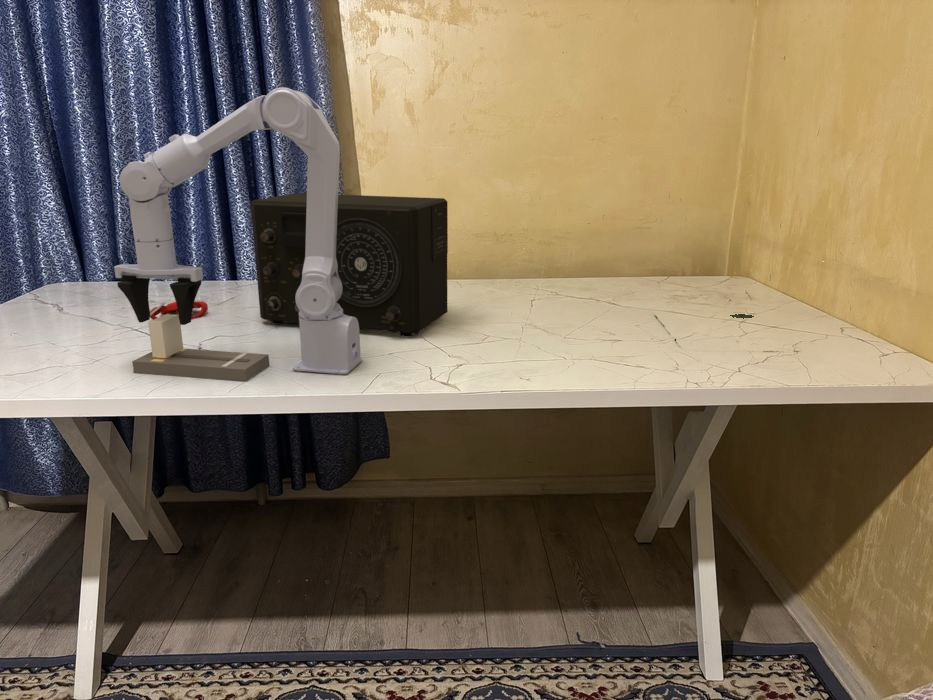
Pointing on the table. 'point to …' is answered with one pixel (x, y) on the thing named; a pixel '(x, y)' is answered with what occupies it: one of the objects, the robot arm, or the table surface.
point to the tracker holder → (173, 308)
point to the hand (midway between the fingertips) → (164, 322)
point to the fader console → (204, 364)
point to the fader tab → (165, 336)
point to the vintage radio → (359, 259)
